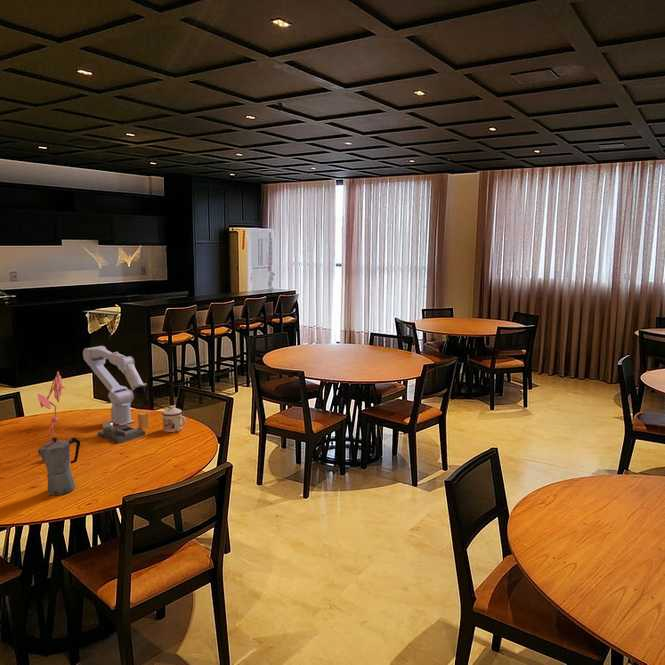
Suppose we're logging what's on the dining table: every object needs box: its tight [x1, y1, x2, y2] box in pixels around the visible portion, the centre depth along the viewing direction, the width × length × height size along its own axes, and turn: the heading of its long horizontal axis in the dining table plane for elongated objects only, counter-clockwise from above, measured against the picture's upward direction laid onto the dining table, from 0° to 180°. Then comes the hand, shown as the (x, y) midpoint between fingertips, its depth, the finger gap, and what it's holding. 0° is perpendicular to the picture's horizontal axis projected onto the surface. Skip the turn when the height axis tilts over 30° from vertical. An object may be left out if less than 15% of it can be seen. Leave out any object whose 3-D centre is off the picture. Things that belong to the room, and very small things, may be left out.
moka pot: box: [36, 436, 81, 496], centre depth 208 cm, size 10×15×20 cm, turn 146°
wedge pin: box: [137, 412, 149, 430], centre depth 278 cm, size 3×3×7 cm
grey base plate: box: [97, 420, 146, 444], centre depth 267 cm, size 16×14×6 cm
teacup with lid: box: [161, 405, 187, 433], centre depth 275 cm, size 12×9×12 cm
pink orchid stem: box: [37, 371, 82, 465], centre depth 242 cm, size 15×26×35 cm, turn 16°
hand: (146, 403), depth 275 cm, fingers open, 7 cm apart
